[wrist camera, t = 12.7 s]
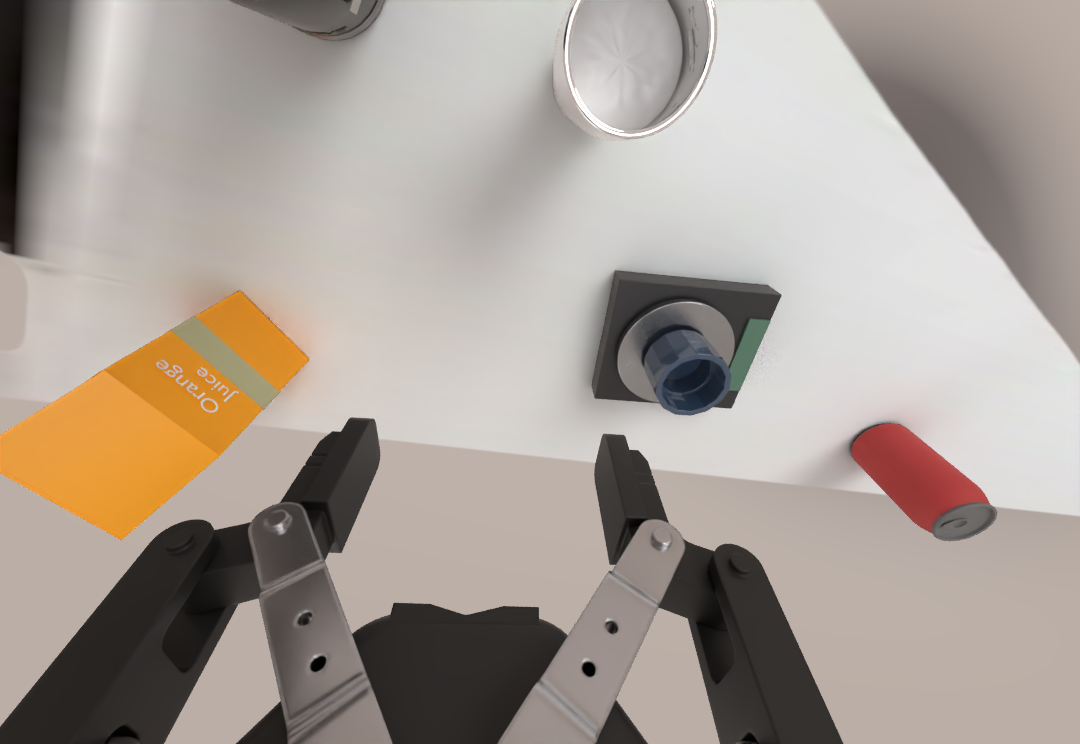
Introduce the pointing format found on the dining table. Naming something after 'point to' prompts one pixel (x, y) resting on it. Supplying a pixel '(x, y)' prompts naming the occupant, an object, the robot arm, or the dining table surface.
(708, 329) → the platter
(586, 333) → the dining table surface
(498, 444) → the dining table surface
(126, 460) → the orange juice
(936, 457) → the beer can
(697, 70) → the beer glass
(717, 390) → the cup
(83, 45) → the dining table surface
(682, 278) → the scale
